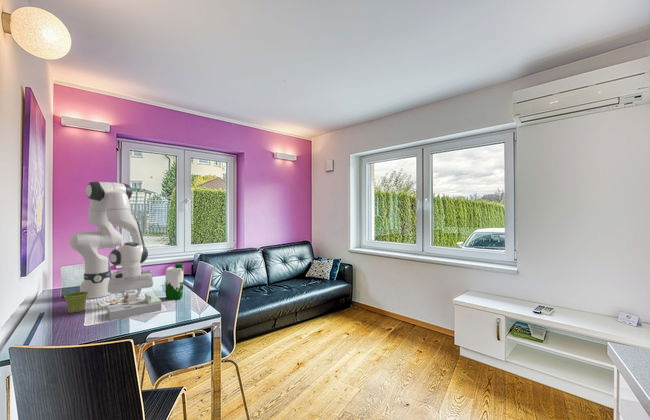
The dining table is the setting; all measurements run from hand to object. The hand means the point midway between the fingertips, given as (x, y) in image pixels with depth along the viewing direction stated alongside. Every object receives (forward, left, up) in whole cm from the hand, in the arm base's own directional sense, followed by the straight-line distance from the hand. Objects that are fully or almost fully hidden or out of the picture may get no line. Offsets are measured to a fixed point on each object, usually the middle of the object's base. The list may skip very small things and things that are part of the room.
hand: (131, 298), depth 153 cm
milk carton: (+2, +21, -4) cm, 21 cm away
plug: (0, 0, -4) cm, 4 cm away
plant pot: (-8, -22, -4) cm, 24 cm away
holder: (0, 0, -4) cm, 4 cm away
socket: (+14, -1, -4) cm, 15 cm away
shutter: (+14, +8, 0) cm, 16 cm away
